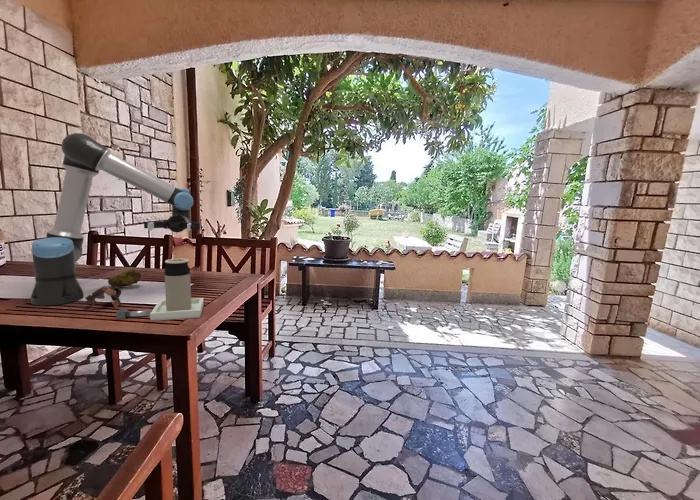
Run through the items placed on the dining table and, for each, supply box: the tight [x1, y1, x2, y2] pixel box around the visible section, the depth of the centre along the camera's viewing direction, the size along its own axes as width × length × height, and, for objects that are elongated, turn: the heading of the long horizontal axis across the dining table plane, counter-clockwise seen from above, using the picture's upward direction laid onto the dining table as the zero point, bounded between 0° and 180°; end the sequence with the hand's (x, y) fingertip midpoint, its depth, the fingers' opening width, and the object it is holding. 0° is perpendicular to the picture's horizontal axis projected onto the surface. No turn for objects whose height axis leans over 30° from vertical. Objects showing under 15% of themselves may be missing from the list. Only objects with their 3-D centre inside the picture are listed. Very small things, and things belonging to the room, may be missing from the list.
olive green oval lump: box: [107, 268, 142, 288], centre depth 147 cm, size 8×13×8 cm, turn 74°
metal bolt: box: [116, 308, 152, 320], centre depth 112 cm, size 9×3×3 cm, turn 109°
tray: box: [149, 297, 205, 322], centre depth 118 cm, size 15×15×2 cm
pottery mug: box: [85, 286, 122, 308], centre depth 123 cm, size 12×10×8 cm
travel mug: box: [164, 258, 192, 311], centre depth 117 cm, size 8×8×18 cm
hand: (168, 227), depth 128 cm, fingers open, 13 cm apart
